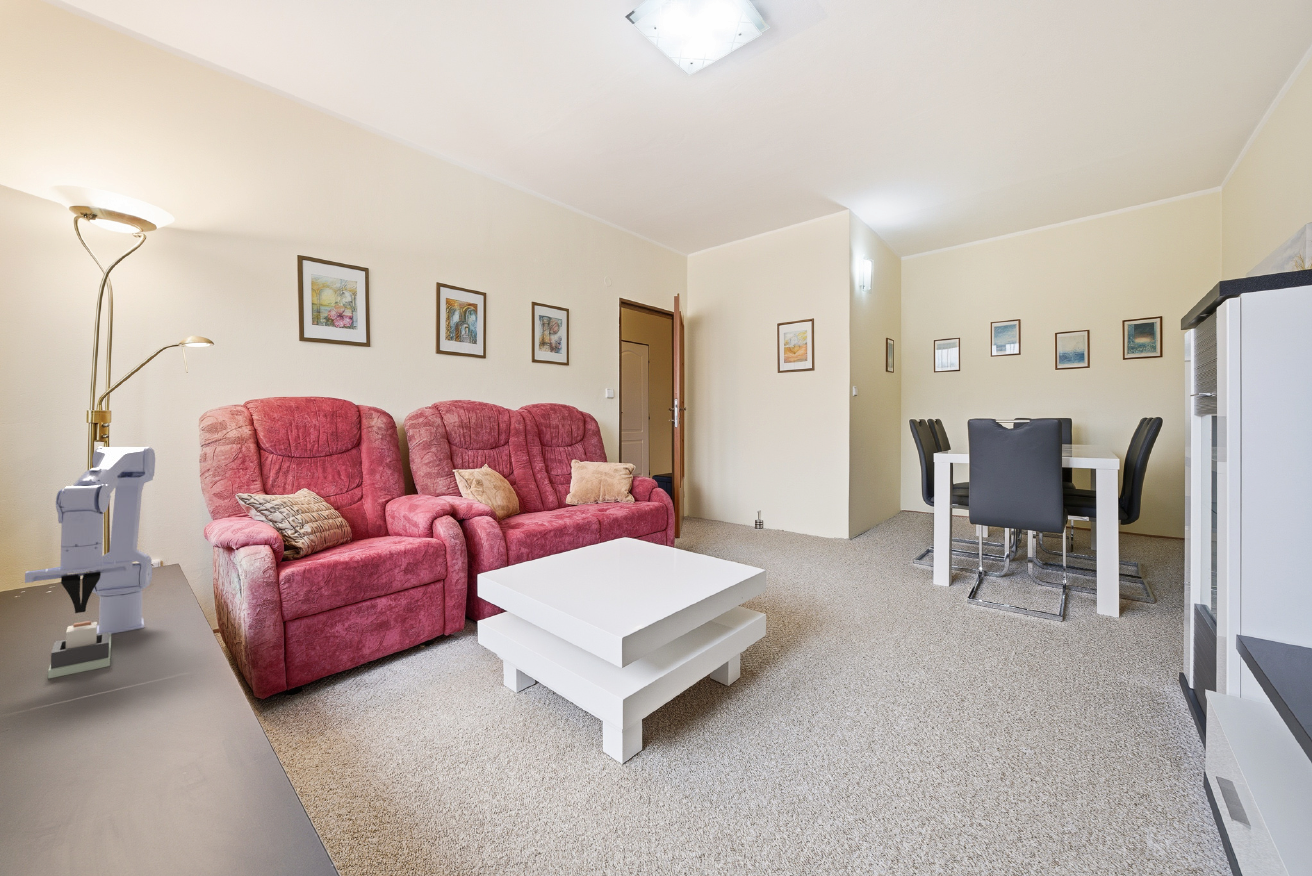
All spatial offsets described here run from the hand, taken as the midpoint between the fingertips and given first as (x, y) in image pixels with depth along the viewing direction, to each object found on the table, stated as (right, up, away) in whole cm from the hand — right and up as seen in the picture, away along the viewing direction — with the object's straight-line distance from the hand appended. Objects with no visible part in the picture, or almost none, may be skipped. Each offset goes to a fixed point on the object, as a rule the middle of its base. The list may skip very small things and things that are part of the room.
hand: (80, 611), depth 105 cm
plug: (+2, -9, -1) cm, 9 cm away
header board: (-2, -10, +2) cm, 11 cm away
